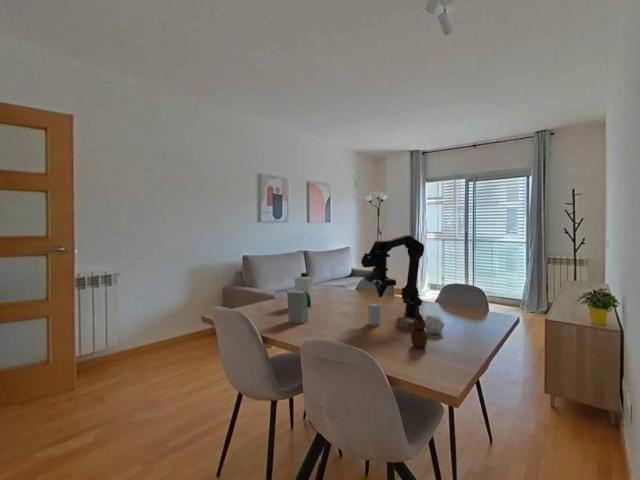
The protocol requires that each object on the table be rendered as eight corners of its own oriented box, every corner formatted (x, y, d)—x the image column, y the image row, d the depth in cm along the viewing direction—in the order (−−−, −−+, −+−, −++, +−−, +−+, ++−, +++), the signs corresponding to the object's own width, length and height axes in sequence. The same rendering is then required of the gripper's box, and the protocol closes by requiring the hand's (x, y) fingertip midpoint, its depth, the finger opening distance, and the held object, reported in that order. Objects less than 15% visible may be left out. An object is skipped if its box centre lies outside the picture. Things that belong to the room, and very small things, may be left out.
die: (440, 339, 149) (450, 319, 152) (423, 328, 150) (432, 309, 153) (434, 339, 157) (443, 321, 159) (417, 329, 158) (426, 311, 161)
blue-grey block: (375, 322, 172) (375, 303, 171) (379, 324, 168) (379, 305, 168) (368, 323, 170) (368, 304, 170) (372, 325, 167) (372, 306, 166)
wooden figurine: (409, 344, 141) (409, 308, 140) (422, 343, 141) (423, 307, 141) (415, 350, 134) (415, 312, 134) (429, 349, 135) (429, 312, 134)
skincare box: (308, 320, 175) (308, 290, 175) (301, 324, 169) (301, 292, 168) (293, 319, 179) (293, 289, 178) (287, 322, 172) (286, 291, 172)
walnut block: (403, 316, 168) (415, 321, 159) (403, 324, 168) (415, 330, 159) (396, 317, 167) (408, 322, 158) (396, 325, 167) (408, 331, 158)
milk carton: (312, 306, 206) (312, 273, 205) (303, 309, 199) (303, 275, 198) (301, 304, 211) (301, 272, 210) (292, 307, 204) (291, 273, 203)
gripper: (357, 264, 176) (357, 294, 177) (377, 269, 159) (376, 302, 160) (375, 264, 180) (375, 293, 181) (397, 268, 163) (396, 300, 164)
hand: (380, 297), depth 171 cm, fingers closed
